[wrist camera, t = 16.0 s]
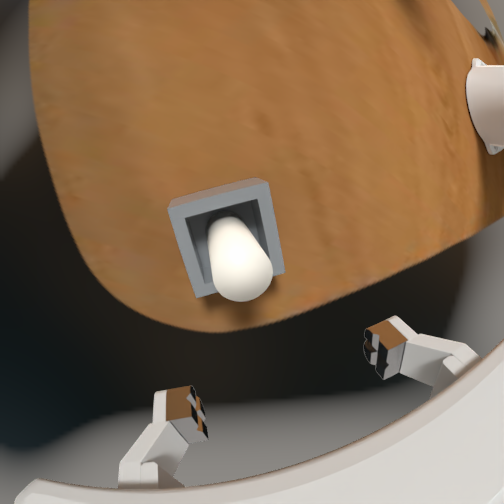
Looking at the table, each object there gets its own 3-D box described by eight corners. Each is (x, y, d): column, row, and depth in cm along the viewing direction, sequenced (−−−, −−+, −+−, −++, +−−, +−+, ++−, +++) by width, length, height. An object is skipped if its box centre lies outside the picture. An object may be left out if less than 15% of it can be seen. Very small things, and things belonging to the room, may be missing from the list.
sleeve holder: (255, 177, 28) (268, 182, 23) (271, 254, 31) (285, 272, 27) (171, 199, 27) (167, 208, 22) (195, 276, 30) (196, 298, 26)
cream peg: (240, 206, 28) (266, 239, 18) (248, 243, 29) (277, 292, 19) (201, 216, 27) (205, 255, 17) (211, 253, 29) (221, 308, 19)
